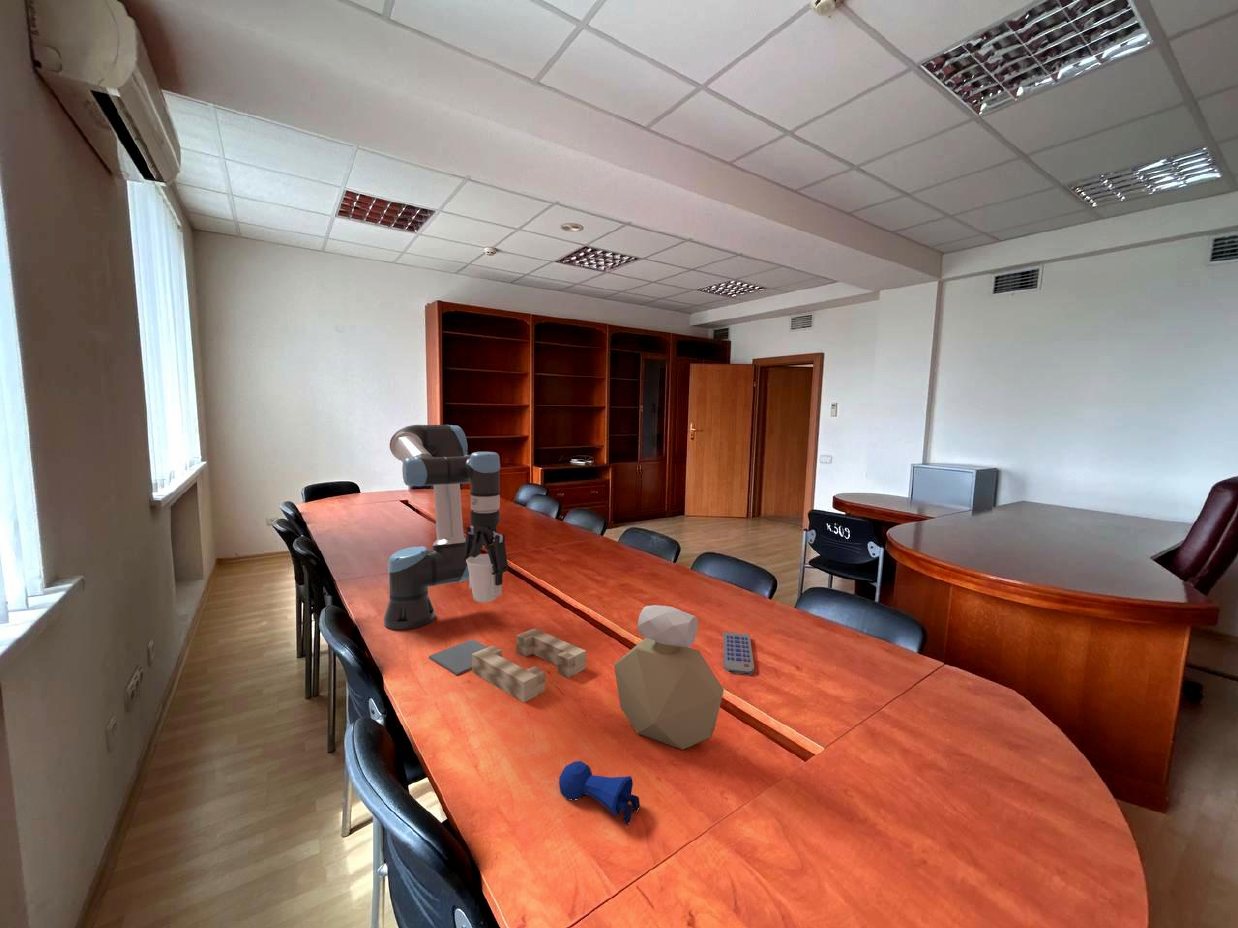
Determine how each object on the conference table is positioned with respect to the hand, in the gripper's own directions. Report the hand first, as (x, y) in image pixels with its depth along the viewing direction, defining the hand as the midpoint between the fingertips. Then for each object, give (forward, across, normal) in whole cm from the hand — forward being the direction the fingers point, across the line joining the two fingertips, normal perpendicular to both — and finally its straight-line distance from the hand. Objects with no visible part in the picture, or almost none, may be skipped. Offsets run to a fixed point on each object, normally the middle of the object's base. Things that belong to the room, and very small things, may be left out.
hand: (485, 591), depth 133 cm
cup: (+2, 0, 0) cm, 2 cm away
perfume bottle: (+18, +56, +5) cm, 59 cm away
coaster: (+20, -5, -3) cm, 20 cm away
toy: (+18, +56, -18) cm, 62 cm away
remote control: (+19, +52, +48) cm, 74 cm away
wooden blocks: (+19, +14, +4) cm, 24 cm away
